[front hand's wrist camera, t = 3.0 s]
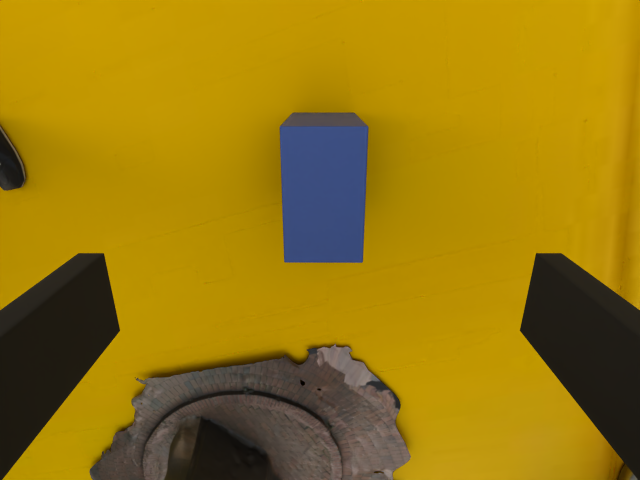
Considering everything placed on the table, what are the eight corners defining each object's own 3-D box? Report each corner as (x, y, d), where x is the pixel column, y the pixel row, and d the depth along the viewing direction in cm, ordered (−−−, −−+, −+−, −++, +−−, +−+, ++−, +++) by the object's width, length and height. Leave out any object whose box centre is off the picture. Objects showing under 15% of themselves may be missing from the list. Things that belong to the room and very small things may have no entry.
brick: (354, 112, 32) (368, 126, 22) (351, 212, 35) (362, 262, 25) (292, 112, 32) (279, 126, 22) (294, 212, 35) (284, 262, 25)
